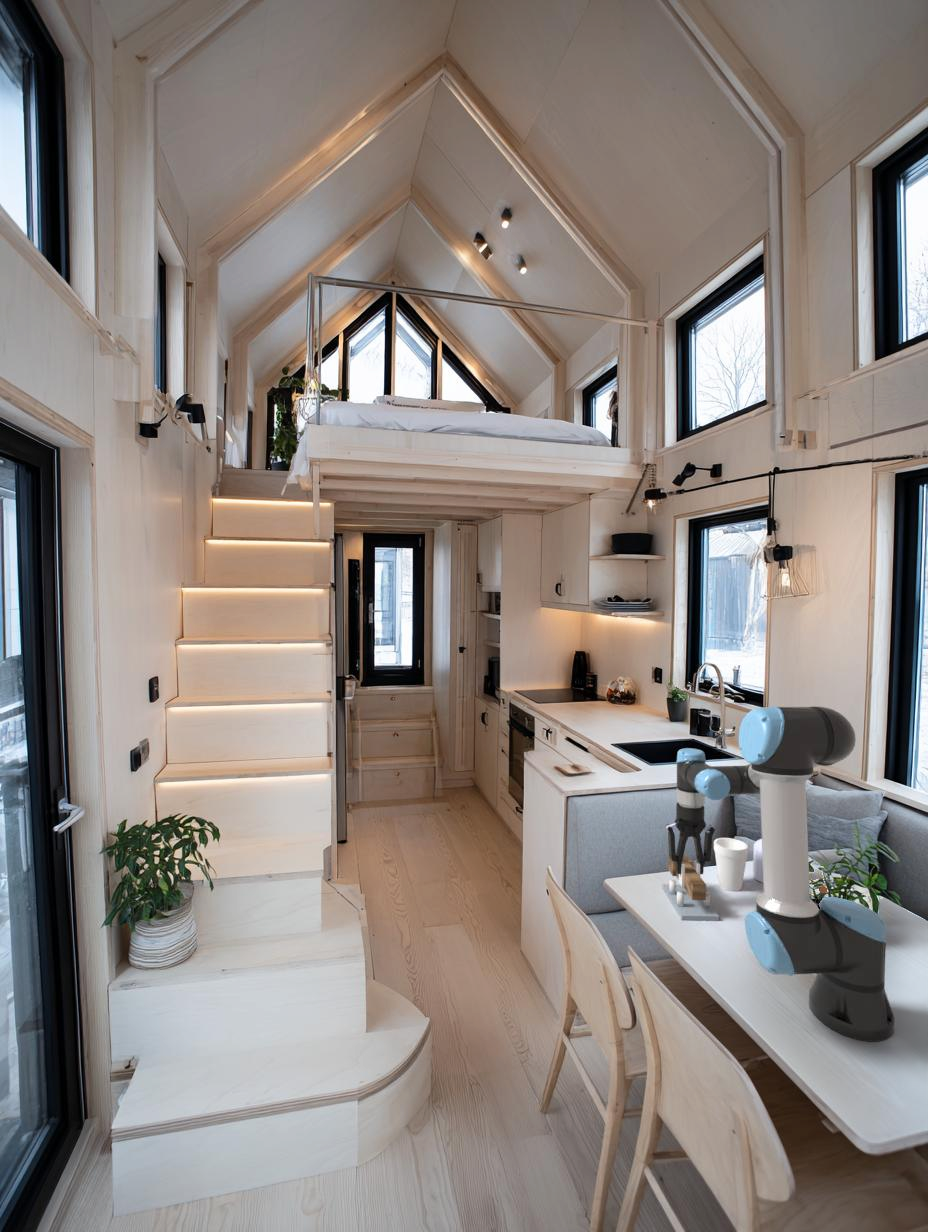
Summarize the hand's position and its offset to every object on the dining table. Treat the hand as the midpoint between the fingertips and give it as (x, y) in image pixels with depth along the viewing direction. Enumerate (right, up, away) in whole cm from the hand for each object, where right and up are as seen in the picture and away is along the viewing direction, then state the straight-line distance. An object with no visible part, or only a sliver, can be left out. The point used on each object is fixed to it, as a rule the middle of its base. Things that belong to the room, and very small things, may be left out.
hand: (689, 884), depth 174 cm
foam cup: (+16, -5, +11) cm, 20 cm away
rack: (0, -6, 0) cm, 6 cm away
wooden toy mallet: (0, -1, 0) cm, 1 cm away
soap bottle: (+30, -5, +15) cm, 34 cm away
